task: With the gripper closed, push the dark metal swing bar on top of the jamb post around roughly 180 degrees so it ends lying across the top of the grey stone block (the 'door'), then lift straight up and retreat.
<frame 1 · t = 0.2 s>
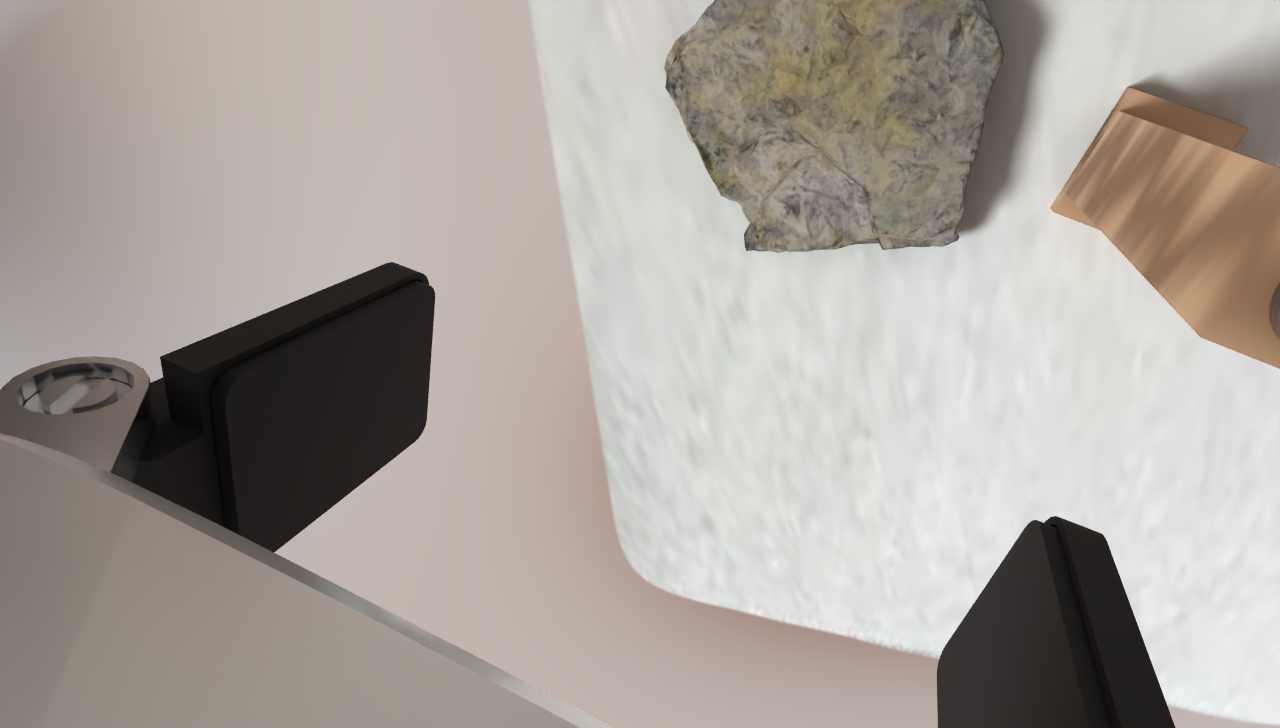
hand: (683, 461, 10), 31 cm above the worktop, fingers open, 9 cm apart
jamb post: (1128, 165, 32), on the worktop
stone: (855, 110, 36), on the worktop
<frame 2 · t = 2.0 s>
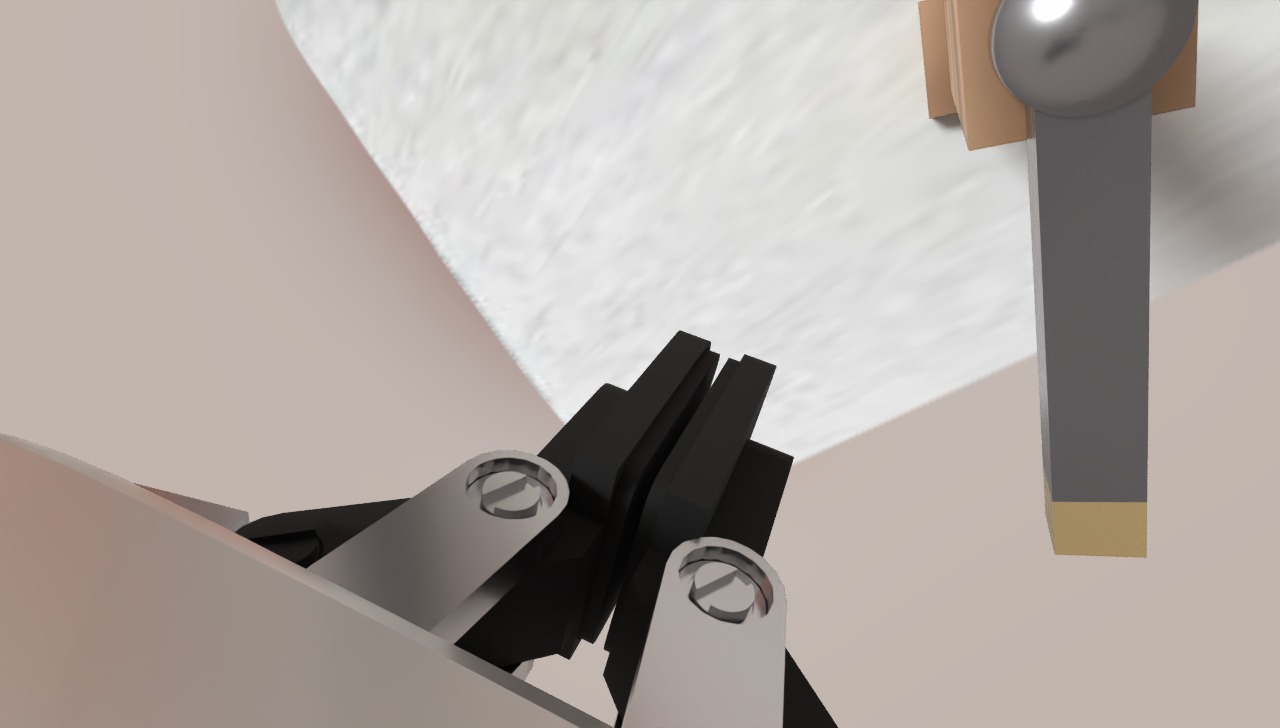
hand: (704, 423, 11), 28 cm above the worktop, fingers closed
jamb post: (995, 31, 30), on the worktop
latch bar: (1087, 281, 14), point 21 cm above the worktop, hinge at 0.0°
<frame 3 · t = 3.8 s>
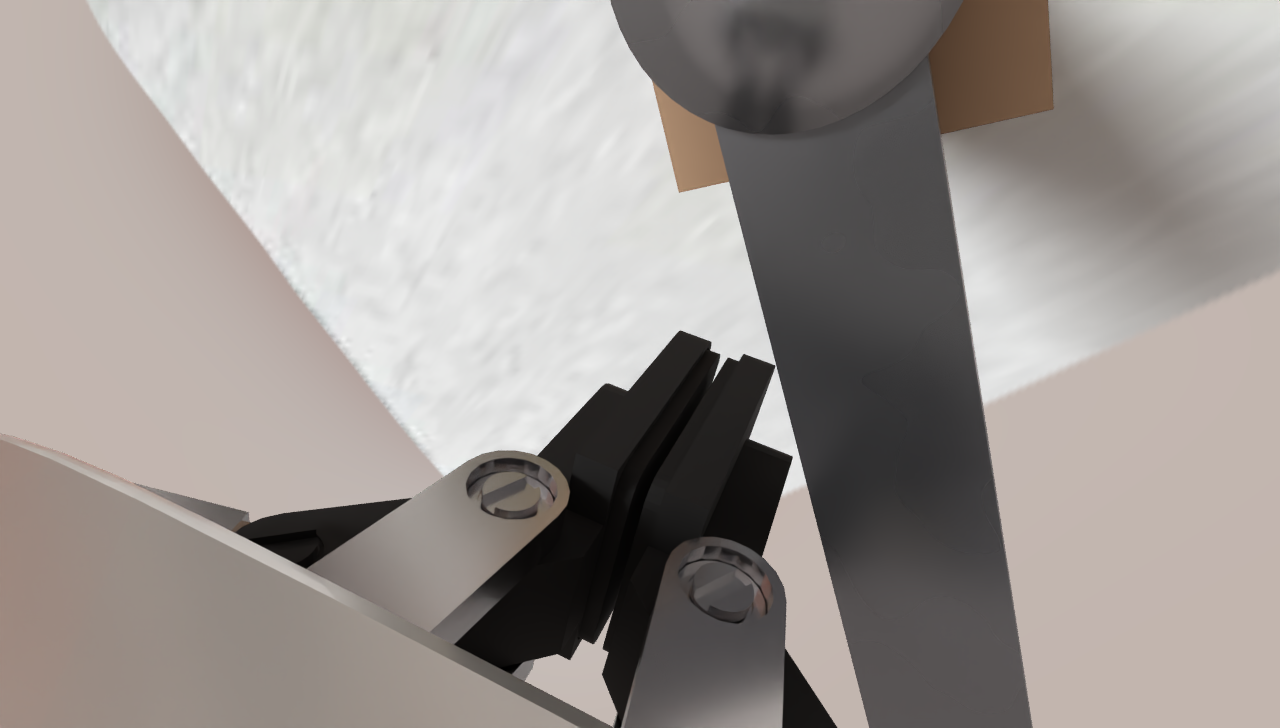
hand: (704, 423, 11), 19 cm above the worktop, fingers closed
jamb post: (897, 12, 24), on the worktop
latch bar: (896, 434, 8), point 21 cm above the worktop, hinge at 2.5°, touching gripper
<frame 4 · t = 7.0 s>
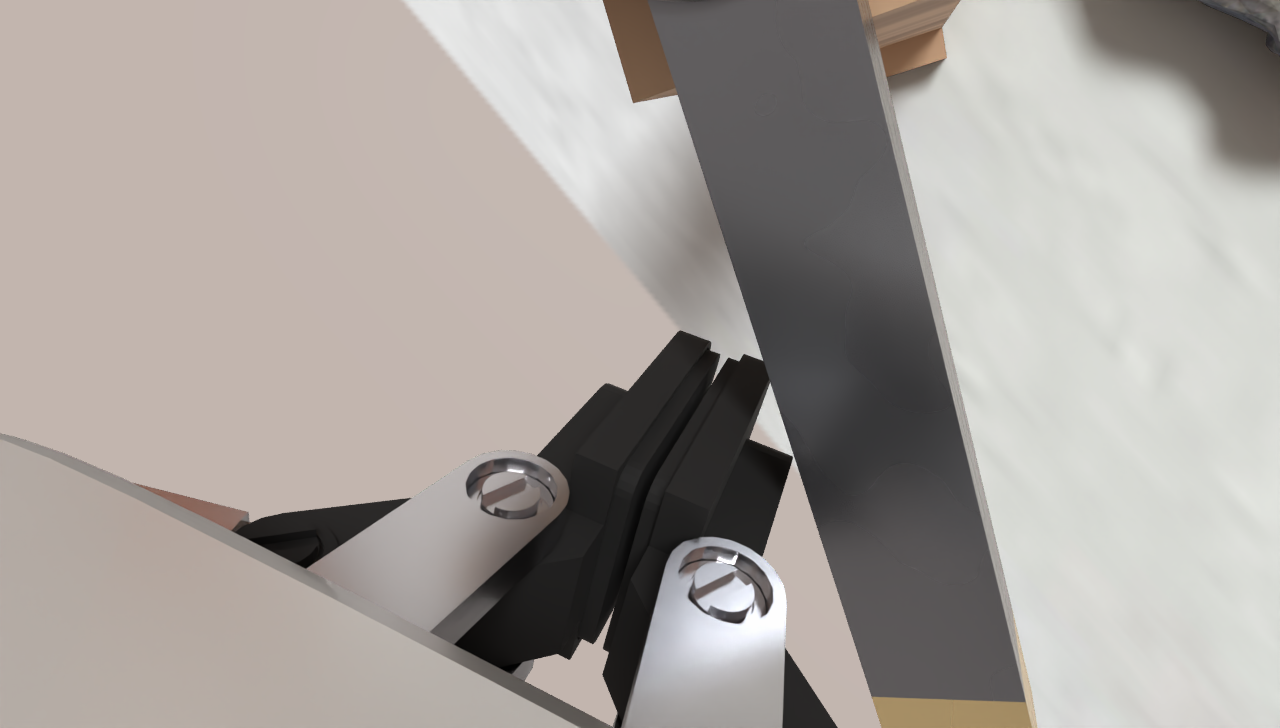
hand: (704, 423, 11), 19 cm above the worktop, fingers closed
latch bar: (850, 312, 8), point 21 cm above the worktop, hinge at 92.8°, touching gripper
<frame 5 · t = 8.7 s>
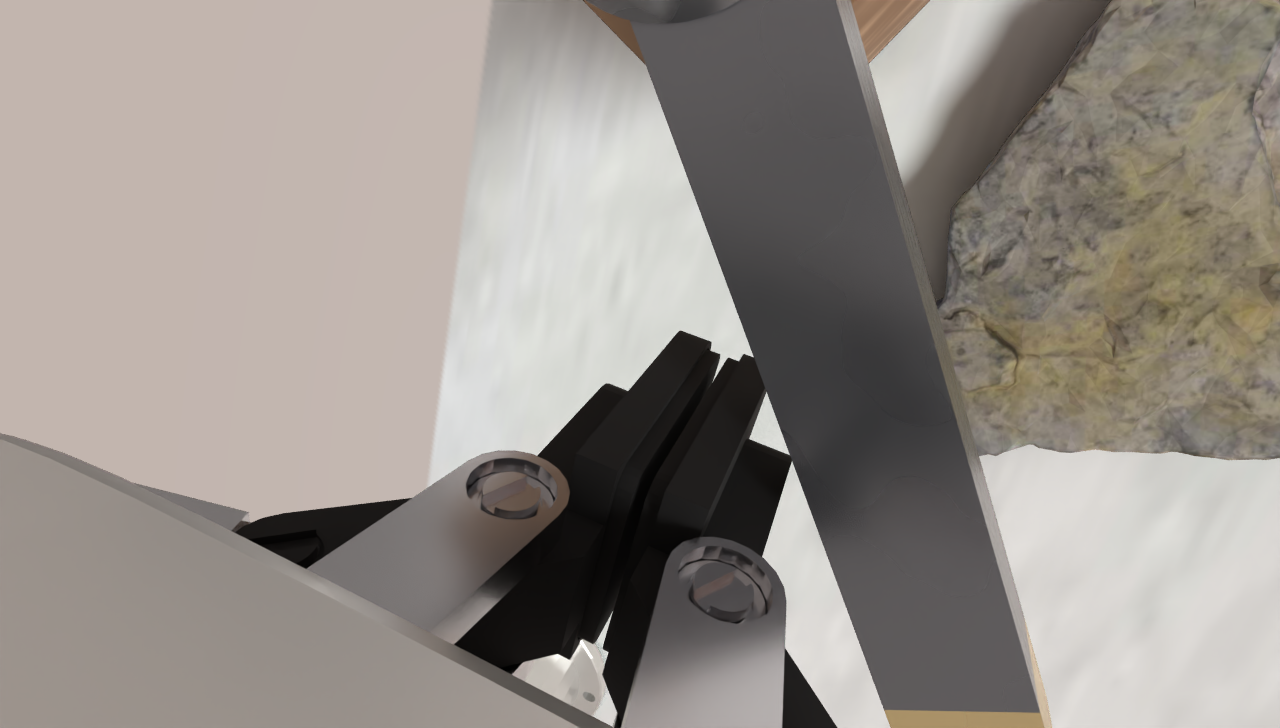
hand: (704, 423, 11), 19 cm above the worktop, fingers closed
latch bar: (847, 325, 8), point 21 cm above the worktop, hinge at 154.6°, touching gripper
stone: (1161, 206, 24), on the worktop
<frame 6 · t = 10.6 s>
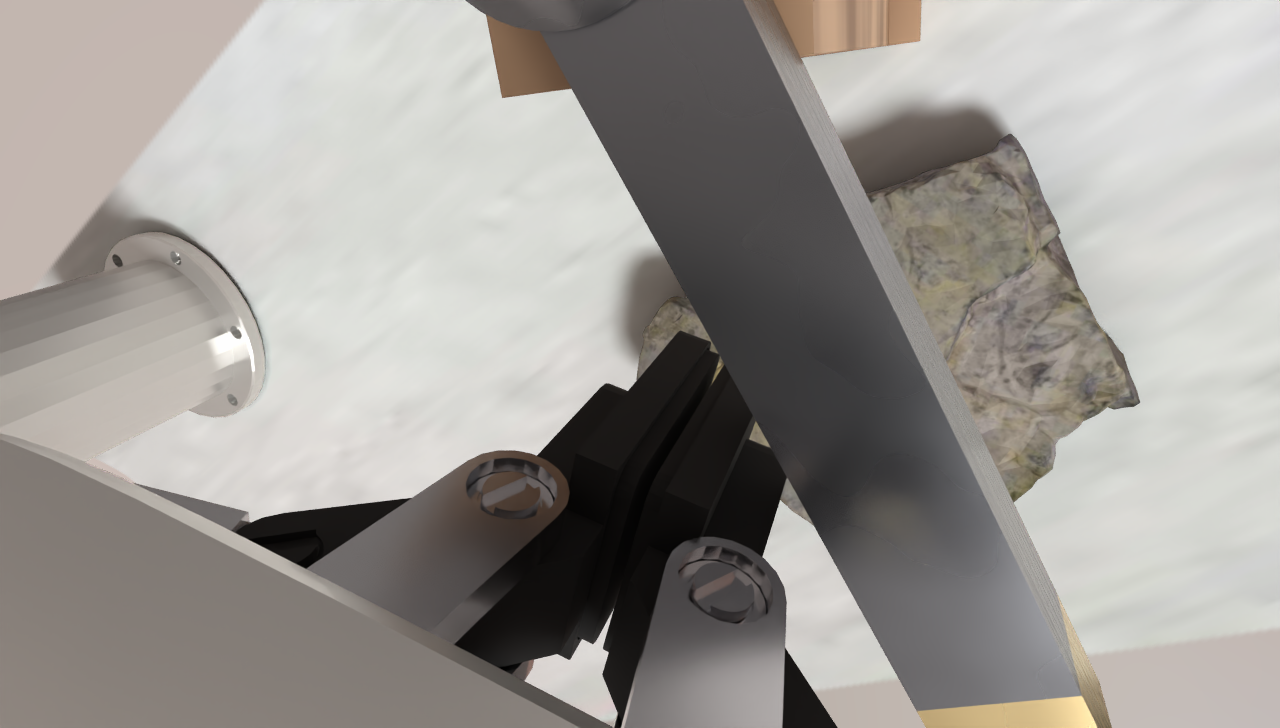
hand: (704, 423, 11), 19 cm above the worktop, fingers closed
latch bar: (811, 307, 7), point 21 cm above the worktop, hinge at 204.1°, touching gripper
stone: (886, 326, 29), on the worktop
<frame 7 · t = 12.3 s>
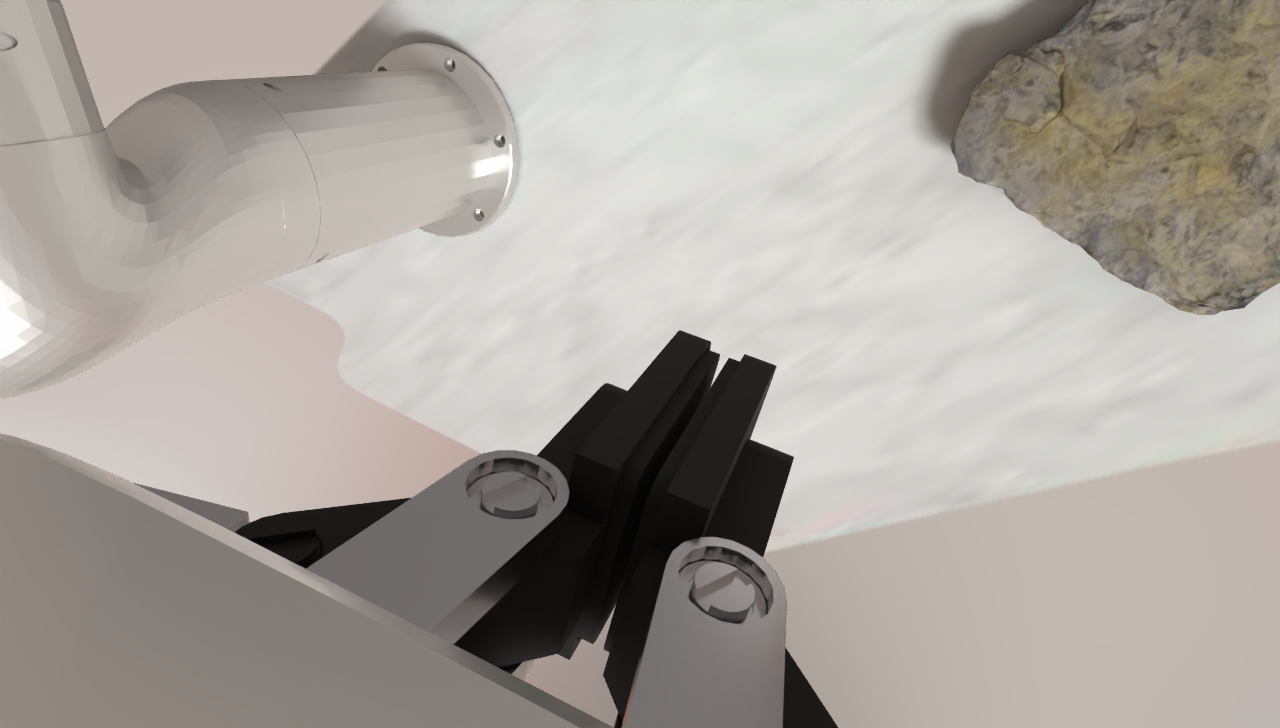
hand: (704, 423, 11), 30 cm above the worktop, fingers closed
stone: (1216, 83, 31), on the worktop
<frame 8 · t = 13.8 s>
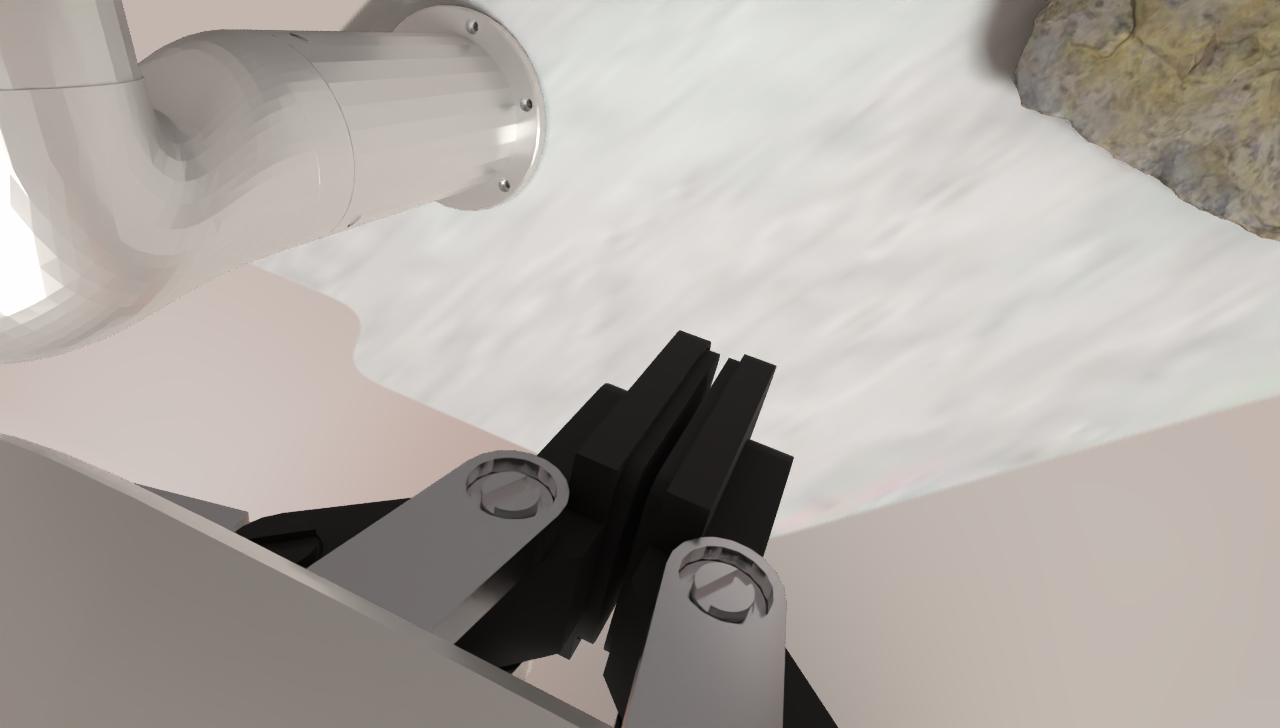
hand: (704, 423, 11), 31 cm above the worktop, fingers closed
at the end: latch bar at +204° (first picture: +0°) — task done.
